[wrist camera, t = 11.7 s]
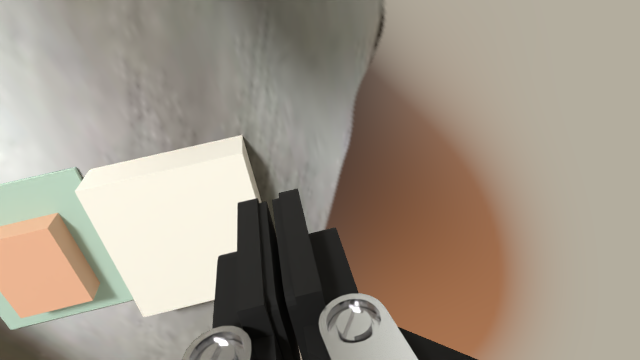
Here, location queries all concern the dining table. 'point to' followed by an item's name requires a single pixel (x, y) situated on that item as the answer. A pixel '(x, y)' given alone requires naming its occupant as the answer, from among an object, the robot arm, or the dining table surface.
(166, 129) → the dining table surface
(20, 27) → the dining table surface
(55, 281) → the tile
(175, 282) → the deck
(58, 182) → the mat
